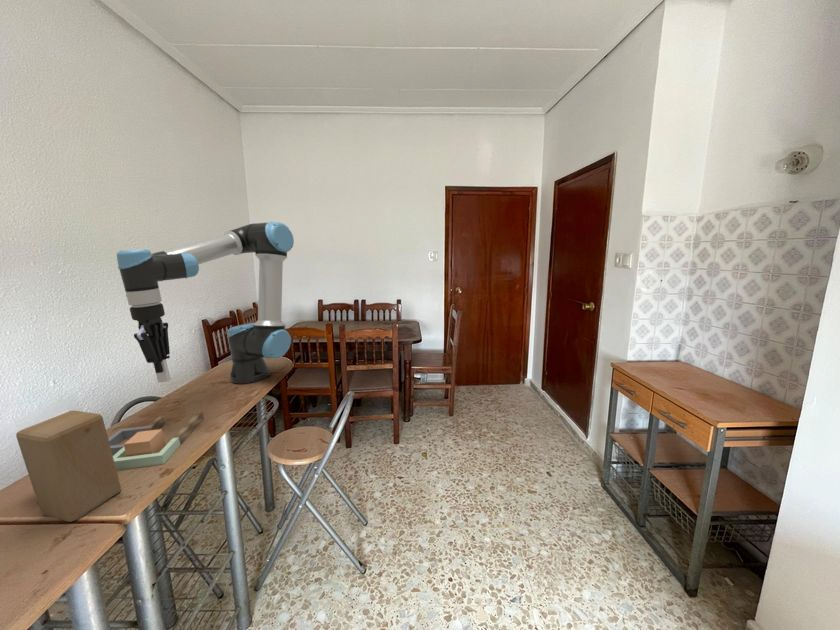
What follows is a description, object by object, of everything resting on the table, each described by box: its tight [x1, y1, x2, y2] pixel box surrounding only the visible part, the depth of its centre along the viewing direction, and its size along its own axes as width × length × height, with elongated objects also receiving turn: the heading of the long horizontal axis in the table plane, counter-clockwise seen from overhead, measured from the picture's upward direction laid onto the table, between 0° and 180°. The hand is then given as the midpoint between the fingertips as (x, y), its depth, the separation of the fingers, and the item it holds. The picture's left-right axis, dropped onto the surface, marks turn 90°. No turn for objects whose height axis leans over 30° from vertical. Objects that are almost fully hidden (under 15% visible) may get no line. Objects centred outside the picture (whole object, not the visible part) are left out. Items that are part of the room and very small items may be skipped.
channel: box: [145, 411, 204, 446], centre depth 103 cm, size 15×13×2 cm
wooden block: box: [16, 410, 122, 523], centre depth 74 cm, size 10×10×20 cm
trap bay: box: [108, 425, 148, 456], centre depth 98 cm, size 11×8×2 cm
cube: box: [123, 428, 167, 457], centre depth 92 cm, size 6×6×6 cm
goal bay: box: [113, 437, 181, 471], centre depth 91 cm, size 8×13×2 cm, turn 100°
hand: (164, 380), depth 102 cm, fingers closed
